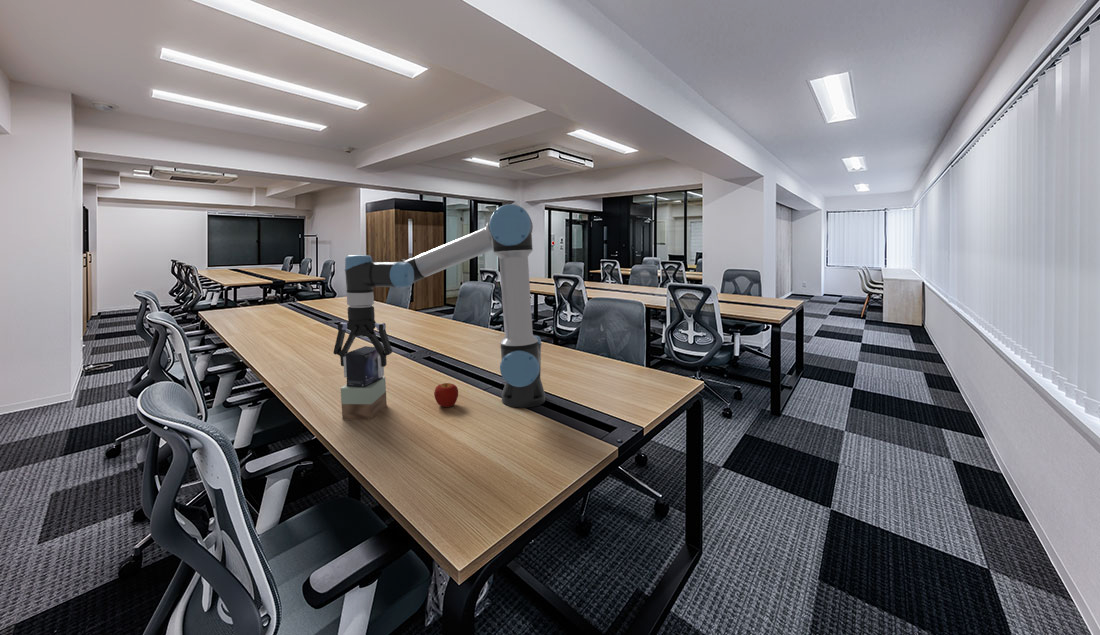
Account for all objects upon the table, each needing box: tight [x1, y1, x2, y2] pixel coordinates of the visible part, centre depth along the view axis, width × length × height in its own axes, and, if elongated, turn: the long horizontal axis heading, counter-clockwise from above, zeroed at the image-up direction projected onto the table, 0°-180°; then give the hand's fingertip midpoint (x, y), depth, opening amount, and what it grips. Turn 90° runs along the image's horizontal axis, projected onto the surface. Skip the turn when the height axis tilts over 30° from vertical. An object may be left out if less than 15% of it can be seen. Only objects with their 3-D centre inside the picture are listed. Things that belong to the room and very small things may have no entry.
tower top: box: [340, 376, 387, 405], centre depth 135 cm, size 9×12×5 cm
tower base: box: [341, 391, 388, 420], centre depth 135 cm, size 9×12×5 cm
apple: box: [433, 382, 459, 408], centre depth 141 cm, size 8×8×8 cm
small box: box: [346, 345, 384, 387], centre depth 133 cm, size 11×6×10 cm, turn 172°
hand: (364, 376), depth 134 cm, fingers open, 10 cm apart
